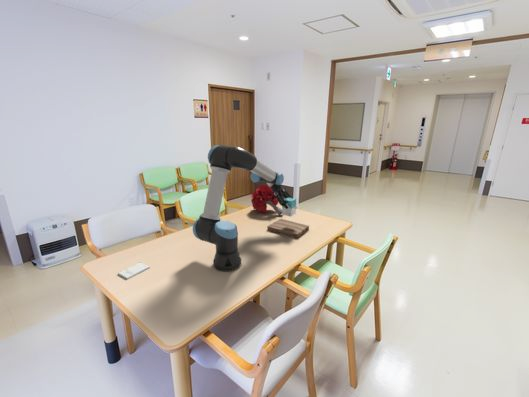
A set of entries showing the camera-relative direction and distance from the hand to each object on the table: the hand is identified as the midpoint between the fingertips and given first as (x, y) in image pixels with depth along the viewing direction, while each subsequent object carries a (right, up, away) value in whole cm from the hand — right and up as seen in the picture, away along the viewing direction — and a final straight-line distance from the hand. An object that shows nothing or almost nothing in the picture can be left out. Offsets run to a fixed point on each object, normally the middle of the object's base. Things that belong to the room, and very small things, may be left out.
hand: (293, 210), depth 183 cm
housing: (-3, -3, +3) cm, 5 cm away
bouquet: (-18, -4, +41) cm, 45 cm away
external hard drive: (-88, -30, -47) cm, 104 cm away
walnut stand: (-3, -14, +6) cm, 16 cm away
